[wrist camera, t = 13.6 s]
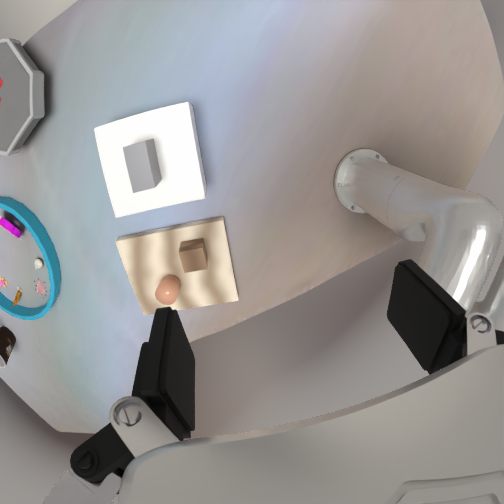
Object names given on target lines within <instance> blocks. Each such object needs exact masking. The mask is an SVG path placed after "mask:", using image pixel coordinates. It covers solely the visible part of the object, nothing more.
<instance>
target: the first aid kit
mask: <svg viewBox="0 0 504 504" xmlns="http://www.w3.org/2000/svg"><path fill="white" fill-rule="evenodd" d="M44 115H45V112H44V74H43V73H42V71H39V69H38V68H37V67H36V65H35V64H34V63H33V61H32V60H31V58H30V57H29V56H28V54H27V53H26V52H25V50H24V49H23V47H22V46H21V43H20V41H18V40H15V39H10V38H6V39H1V40H0V155H5V156H8V155H11V154H15V153H18V152H19V151H20V150H21V146H22V145H23V143H24V142H25V140H26V139H27V137H28V136H29V134H30V133H31V131H32V130H33V128H34V127H35V126H36V124H37V123H38V121H39V120H40V119H41V118H43V116H44Z"/></svg>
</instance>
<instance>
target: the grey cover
mask: <svg viewBox="0 0 504 504" xmlns="http://www.w3.org/2000/svg"><path fill="white" fill-rule="evenodd" d="M94 131H95V136H96V141H97V146H98V151H99V155H100V160H101V164H102V168H103V172H104V176H105V180H106V184H107V188H108V192H109V195H110V199H111V203H112V206H113V210H114V213H115V216H116V218H118V217H122V216H126V215H130V214H134V213H138V212H143V211H147V210H152V209H156V208H161V207H165V206H170V205H174V204H179V203H184V202H189V201H194V200H199V199H204V198H206V187H207V185H206V180H205V174H204V169H203V163H202V158H201V152H200V147H199V141H198V135H197V129H196V123H195V117H194V111H193V105H192V104H190V103H189V102H185V103H180V104H176V105H171V106H167V107H163V108H159V109H155V110H151V111H148V112H144V113H140V114H137V115H133V116H130V117H127V118H123V119H120V120H117V121H114V122H111V123H108V124H105V125H102V126H99V127H97V128H94Z"/></svg>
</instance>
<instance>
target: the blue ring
mask: <svg viewBox="0 0 504 504" xmlns="http://www.w3.org/2000/svg"><path fill="white" fill-rule="evenodd" d="M0 208H2V209H4V210H6V211H8V212H10V213H11V214H13V215H14V216H15V217H16V218H17V219H18V220H20V221H21V222H22V223H23V224H24V225H25V227H26V228H27V229H28V231H29V232H30V233H31V235H32V236H33V237H34V239H35V241H36V243H37V244H38V246H39V248H40V250H41V252H42V254H43V257H44V260H45V262H46V265H47V268H48V272H49V278H50V284H51V286H50V298H49V301H48V303H47V304H46V305H44V306H41V307H39V308H26V307H23V306H20V305H17V302H18V300H19V298H20V295H21V293H22V290H21V291H20V289H19V290H18V292H17V295H16V297H15V300H14V302H12V301H10V300H9V299H7V298H6V297H5V296H4V295H3V294H2V293H1V292H0V308H1V309H2V310H4V311H5V312H7V313H9V314H10V315H12V316H14V317H17V318H20V319H23V320H35V319H38V318H41V317H43V316H44V315H45V314H46V313H47V312H48V311H49V310H50V309H51V307H52V306H53V304H54V303H55V301H56V298H57V296H58V294H59V292H60V284H61V273H60V265H59V260H58V257H57V254H56V251H55V248H54V245H53V243H52V241H51V239H50V237H49V235H48V233H47V231H46V229H45V228H44V226H43V225H42V224H41V222H40V221H39V220H38V218H37V217H36V216H35V214H33V213H32V212H31V211H30V210H29V209H28V208H27V207H26V206H24V205H23V204H22V203H20V202H18V201H16V200H14V199H12V198H8V197H0ZM0 226H1V227H3V228H4V229H5V230H6V231H8V232H9V233H11V234H12V235H14V236H15V237H17V238H19V237H20V235H21V234H22V233H21V232H20V231H19V230H18V229H17V228H16V227H15V226H13V225H12V224H11V223H10V222H8V221H7V220H6V219H4V218H2V217H1V216H0ZM20 240H21V239H20ZM34 263H35V268H36V267H37V268H42V266H43V262H42V260H40V259H36V260H35V262H34ZM36 271H37V270H36ZM4 279H5V278H1V277H0V286H2V285H3V286H4V287H6V285H5V284H7V283H8V282H7V281H6V280H5V281H3V280H4ZM38 280H39V279H38ZM34 282H35V281H34ZM38 282H39V284H40V285H41V286H40V285H39V284H38V283H37V284H38V285H36V287H37V288H38V289H37V294H38V293H40V295H42V294H43V293H45V288H46V286H45V285H44V286H45V287H44V286H42V285H43V284H42V282H41V281H38ZM44 283H45V282H44ZM35 290H36V289H35ZM46 292H47V291H46ZM45 296H46V295H45ZM43 298H44V297H43Z"/></svg>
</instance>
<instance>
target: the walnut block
mask: <svg viewBox="0 0 504 504" xmlns="http://www.w3.org/2000/svg"><path fill="white" fill-rule="evenodd" d="M179 256H180V259H181V263H182V266H183V270H184V273H188V272H193V271H199V270H205V269H208V257H207V253H206V248H205V244H204V239H203V238H199V239H193V240H188V241H183V242H181V243H180V248H179Z"/></svg>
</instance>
